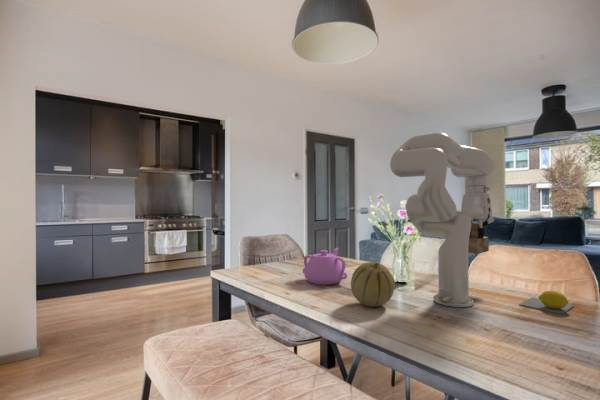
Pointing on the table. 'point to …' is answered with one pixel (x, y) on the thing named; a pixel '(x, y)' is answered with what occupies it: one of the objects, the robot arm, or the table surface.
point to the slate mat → (539, 305)
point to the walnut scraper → (477, 241)
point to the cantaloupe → (372, 284)
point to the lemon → (553, 299)
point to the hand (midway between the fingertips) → (476, 237)
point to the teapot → (324, 268)
